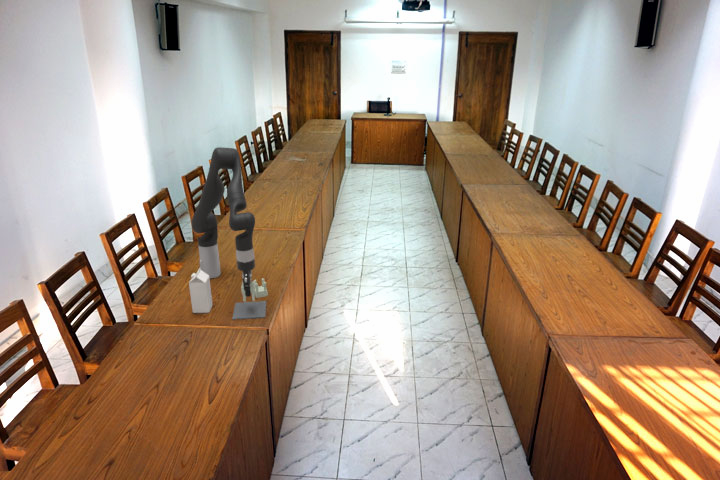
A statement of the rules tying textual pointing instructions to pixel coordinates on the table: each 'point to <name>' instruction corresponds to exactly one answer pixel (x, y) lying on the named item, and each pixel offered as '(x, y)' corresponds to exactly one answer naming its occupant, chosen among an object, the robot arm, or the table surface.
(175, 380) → the table surface
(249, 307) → the mat
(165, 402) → the table surface
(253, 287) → the cube with twin tabs
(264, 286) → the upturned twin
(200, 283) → the milk carton
